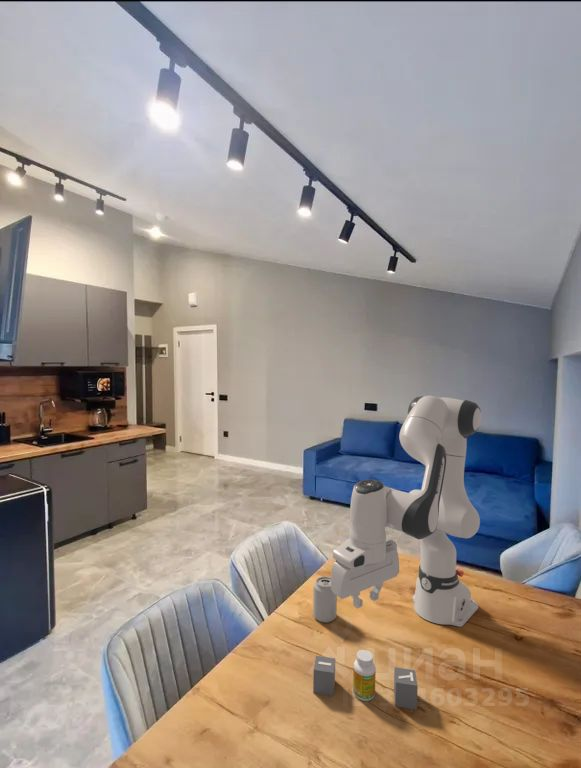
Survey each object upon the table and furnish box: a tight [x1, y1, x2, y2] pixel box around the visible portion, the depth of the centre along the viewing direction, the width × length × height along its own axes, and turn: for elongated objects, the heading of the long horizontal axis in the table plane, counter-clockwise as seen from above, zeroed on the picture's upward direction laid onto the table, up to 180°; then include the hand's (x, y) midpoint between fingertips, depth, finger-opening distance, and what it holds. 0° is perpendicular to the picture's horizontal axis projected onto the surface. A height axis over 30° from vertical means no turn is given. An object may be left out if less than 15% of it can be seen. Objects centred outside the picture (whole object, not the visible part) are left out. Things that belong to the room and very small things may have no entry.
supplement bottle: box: [352, 649, 377, 702], centre depth 102 cm, size 5×5×10 cm
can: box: [312, 575, 338, 624], centre depth 132 cm, size 8×8×12 cm
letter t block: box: [393, 666, 418, 711], centre depth 100 cm, size 5×5×6 cm
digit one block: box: [312, 655, 336, 697], centre depth 103 cm, size 5×5×6 cm
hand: (366, 602), depth 101 cm, fingers open, 4 cm apart
